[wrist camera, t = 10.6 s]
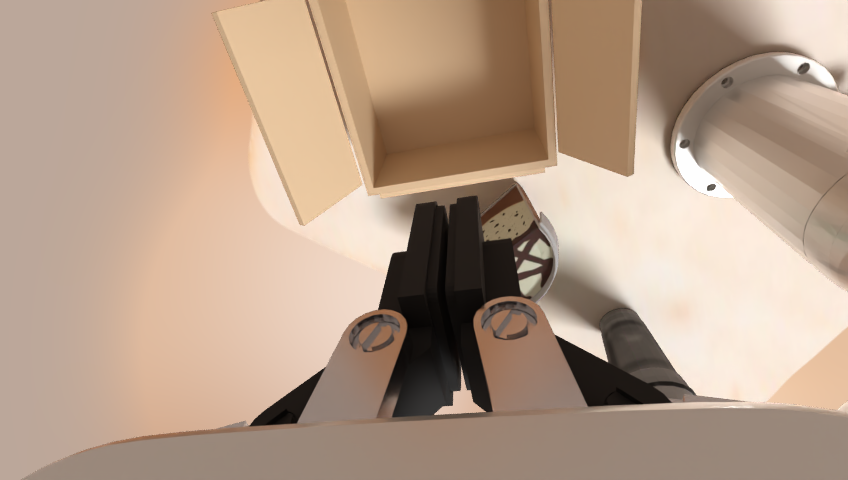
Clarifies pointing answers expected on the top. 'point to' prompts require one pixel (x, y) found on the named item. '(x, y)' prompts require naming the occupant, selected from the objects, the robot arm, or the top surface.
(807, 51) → the top surface
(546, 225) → the food container
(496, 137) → the carton
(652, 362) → the beverage cup
